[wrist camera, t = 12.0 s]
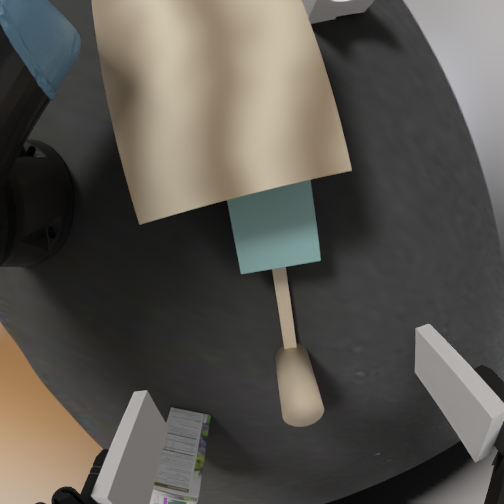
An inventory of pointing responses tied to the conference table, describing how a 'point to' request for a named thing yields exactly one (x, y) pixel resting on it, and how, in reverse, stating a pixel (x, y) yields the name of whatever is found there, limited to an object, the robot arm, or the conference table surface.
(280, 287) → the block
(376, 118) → the conference table surface
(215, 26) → the wooden frame
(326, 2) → the bracket
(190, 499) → the syrup box
